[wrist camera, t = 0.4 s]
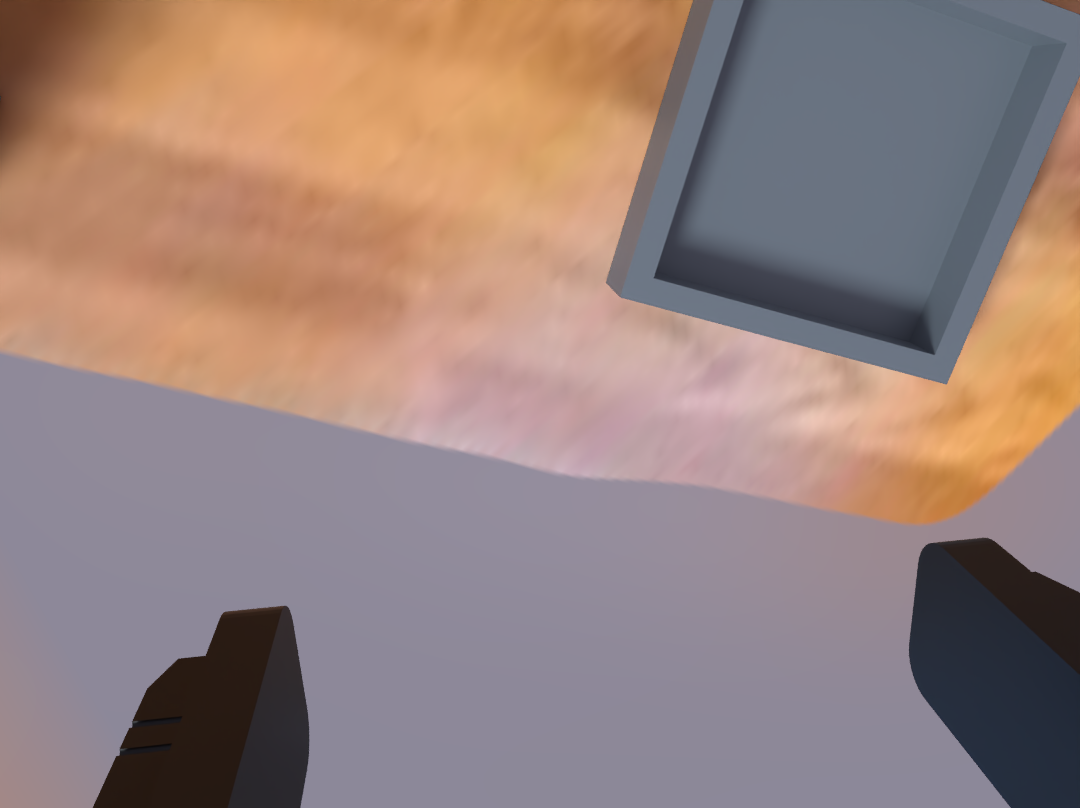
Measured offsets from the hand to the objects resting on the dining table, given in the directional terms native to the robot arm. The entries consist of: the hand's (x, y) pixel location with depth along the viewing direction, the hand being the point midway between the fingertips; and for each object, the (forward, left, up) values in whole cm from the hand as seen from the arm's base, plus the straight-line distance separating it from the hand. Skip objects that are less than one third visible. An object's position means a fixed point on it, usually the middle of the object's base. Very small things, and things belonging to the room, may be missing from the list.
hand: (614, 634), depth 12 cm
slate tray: (-8, +12, -26) cm, 29 cm away
